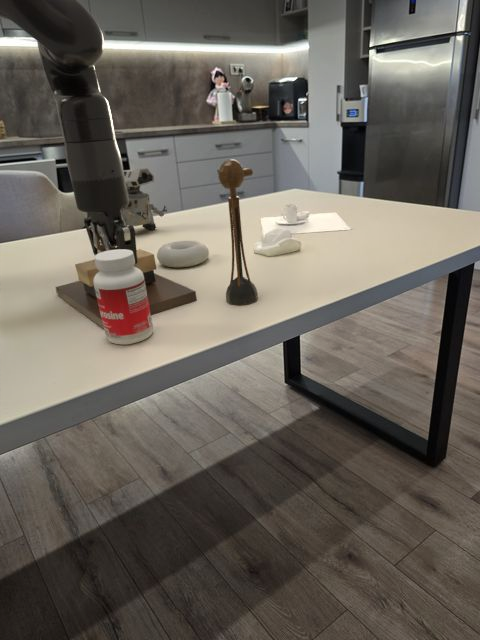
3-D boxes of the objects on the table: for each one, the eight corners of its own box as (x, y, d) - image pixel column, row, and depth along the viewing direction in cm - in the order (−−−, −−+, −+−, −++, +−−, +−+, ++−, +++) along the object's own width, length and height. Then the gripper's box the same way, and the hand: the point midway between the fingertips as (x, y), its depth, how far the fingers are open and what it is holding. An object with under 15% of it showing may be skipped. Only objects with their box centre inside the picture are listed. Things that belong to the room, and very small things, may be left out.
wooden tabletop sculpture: (248, 290, 77) (238, 155, 68) (268, 296, 74) (261, 156, 64) (220, 300, 73) (205, 160, 64) (240, 307, 70) (227, 161, 61)
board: (104, 329, 66) (101, 319, 65) (57, 295, 80) (55, 286, 79) (196, 300, 74) (195, 291, 73) (139, 273, 88) (138, 265, 87)
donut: (213, 254, 97) (164, 255, 98) (211, 237, 96) (162, 239, 97) (205, 269, 88) (152, 270, 89) (203, 251, 87) (149, 252, 88)
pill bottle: (97, 338, 63) (77, 257, 58) (135, 322, 67) (119, 245, 62) (125, 350, 60) (106, 264, 55) (163, 332, 64) (149, 250, 59)
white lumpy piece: (292, 234, 89) (244, 233, 92) (293, 258, 91) (246, 256, 94) (306, 222, 97) (261, 222, 100) (307, 244, 99) (263, 243, 102)
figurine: (138, 240, 112) (126, 172, 105) (113, 234, 119) (100, 170, 113) (170, 232, 118) (161, 167, 111) (144, 226, 125) (134, 165, 118)
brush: (93, 299, 72) (86, 270, 70) (81, 291, 76) (74, 264, 74) (158, 281, 78) (154, 254, 76) (144, 274, 82) (140, 249, 80)
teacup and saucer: (308, 217, 123) (308, 201, 121) (312, 224, 115) (312, 207, 114) (274, 220, 122) (273, 203, 121) (276, 227, 115) (275, 209, 114)
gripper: (143, 174, 66) (162, 290, 74) (102, 169, 76) (123, 272, 84) (90, 181, 62) (116, 303, 70) (55, 175, 72) (81, 282, 80)
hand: (120, 285), depth 77 cm, fingers closed on brush, 5 cm apart
